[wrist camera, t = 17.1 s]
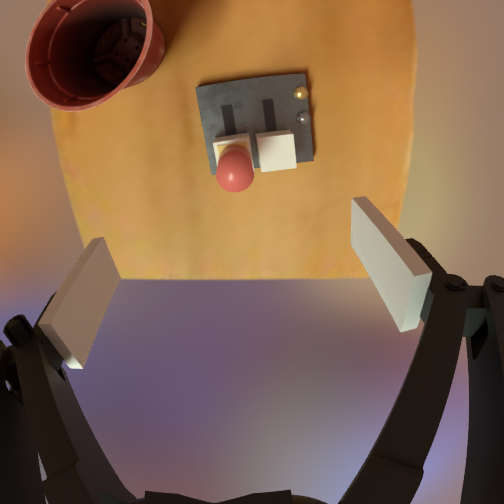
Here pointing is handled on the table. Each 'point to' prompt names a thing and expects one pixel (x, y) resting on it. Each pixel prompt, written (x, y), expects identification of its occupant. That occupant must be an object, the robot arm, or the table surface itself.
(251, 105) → the panel
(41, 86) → the flower pot
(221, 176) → the lockout cap
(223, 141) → the block
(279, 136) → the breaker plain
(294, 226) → the table surface
